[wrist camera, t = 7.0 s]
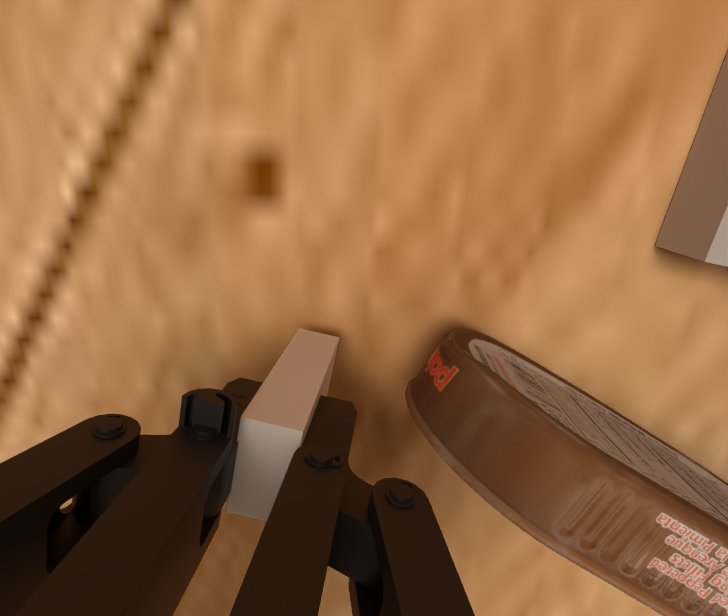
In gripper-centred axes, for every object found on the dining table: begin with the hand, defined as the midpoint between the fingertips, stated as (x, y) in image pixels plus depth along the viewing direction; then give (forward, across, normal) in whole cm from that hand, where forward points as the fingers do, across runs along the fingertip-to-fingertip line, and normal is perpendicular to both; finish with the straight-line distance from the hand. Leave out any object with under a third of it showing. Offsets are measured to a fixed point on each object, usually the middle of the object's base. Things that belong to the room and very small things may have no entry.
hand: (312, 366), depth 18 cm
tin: (+2, -11, 0) cm, 11 cm away
